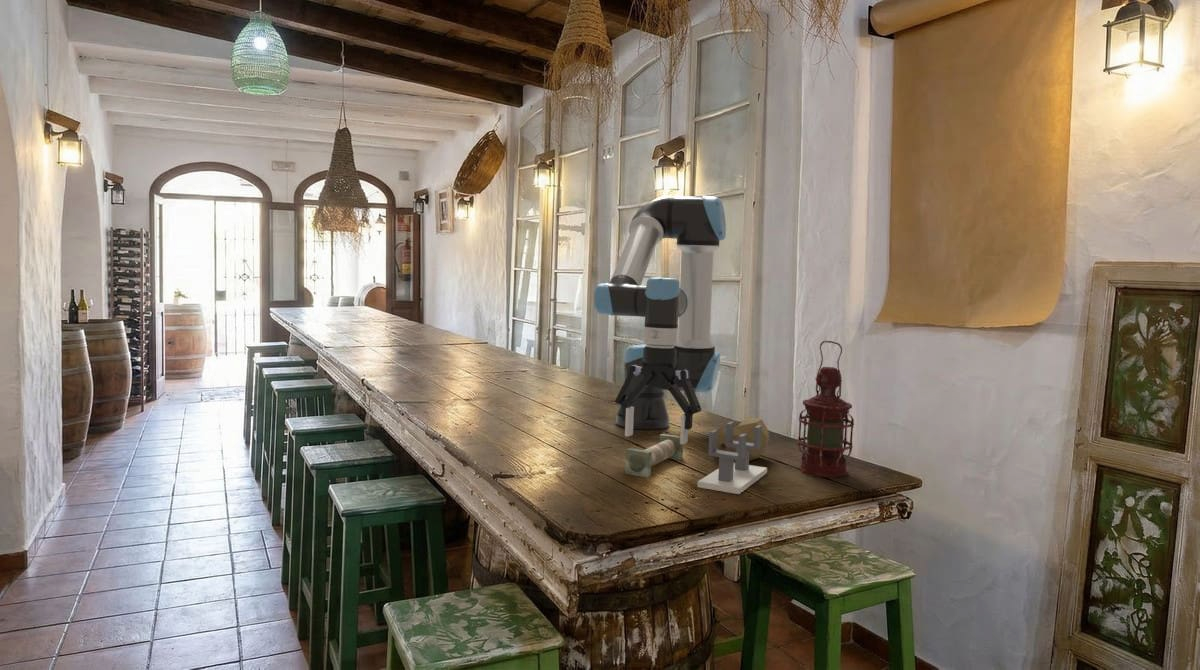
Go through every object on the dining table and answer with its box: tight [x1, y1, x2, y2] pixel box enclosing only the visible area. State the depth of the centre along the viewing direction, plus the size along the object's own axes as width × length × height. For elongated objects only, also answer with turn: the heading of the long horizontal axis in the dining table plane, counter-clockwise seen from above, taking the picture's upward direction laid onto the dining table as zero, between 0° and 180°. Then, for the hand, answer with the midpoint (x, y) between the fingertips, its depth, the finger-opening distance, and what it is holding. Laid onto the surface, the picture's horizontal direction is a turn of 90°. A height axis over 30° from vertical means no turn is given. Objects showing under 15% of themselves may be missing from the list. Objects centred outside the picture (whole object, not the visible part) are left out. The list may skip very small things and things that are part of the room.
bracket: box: [697, 421, 768, 495], centre depth 172 cm, size 20×9×11 cm, turn 152°
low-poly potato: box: [716, 416, 770, 462], centre depth 192 cm, size 15×11×12 cm
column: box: [624, 433, 684, 478], centre depth 182 cm, size 20×5×5 cm, turn 152°
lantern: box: [797, 340, 855, 479], centre depth 181 cm, size 12×12×30 cm
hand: (655, 439), depth 182 cm, fingers open, 13 cm apart
